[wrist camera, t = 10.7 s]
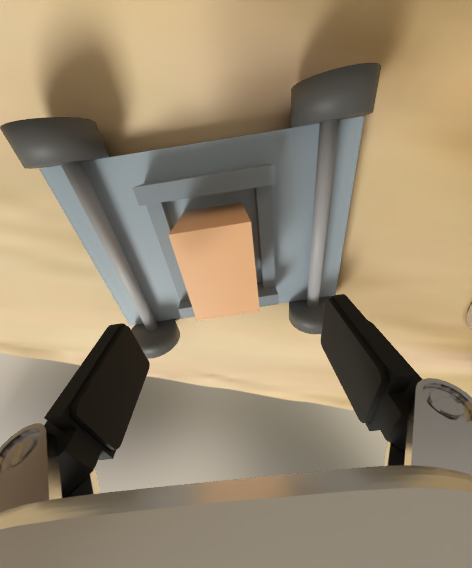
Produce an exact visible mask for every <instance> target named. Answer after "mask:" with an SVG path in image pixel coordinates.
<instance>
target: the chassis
mask: <svg viewBox="0 0 472 568" xmlns="http://www.w3.org/2000/svg"><path fill="white" fill-rule="evenodd" d="M380 70H381V65H380V64H377V63H364V64H357V65H351V66H346V67H342V68H338V69H334V70H330V71H327V72H324V73H321V74H318V75H315V76H312V77H310V78H307V79H305V80H303V81H301V82H299V83H297V84H296V85H295V86H293V87H292V89H291V128H287V129H281V130H275V131H269V132H263V133H256V134H250V135H244V136H238V137H232V138H225V139H219V140H213V141H207V142H201V143H195V144H188V145H182V146H176V147H170V148H164V149H157V150H151V151H145V152H139V153H133V154H127V155H120V156H114V157H109V155H108V153H107V150H106V148H105V145H104V143H103V140H102V138H101V135H100V133H99V130H98V128H97V125H96V123H95V122H94V121H92V120H88V119H82V118H69V117H51V118H35V119H26V120H19V121H14V122H10V123H6V124H4V125H2V126H1V127H0V129H1V130H2V132H3V134H4V135H5V137H6V139H7V140H8V142H9V143H10V145H11V147H12V148H13V150H14V152H15V153H16V155H17V157H18V158H19V160H20V161H21V163H22V165H23V166H24V168H40V171H41V173H42V174H43V176H44V178H45V180H46V181H47V183H48V185H49V187H50V188H51V190H52V192H53V193H54V195H55V197H56V199H57V200H58V202H59V204H60V206H61V207H62V209H63V211H64V213H65V214H66V216H67V218H68V219H69V221H70V223H71V225H72V226H73V228H74V230H75V232H76V233H77V235H78V237H79V239H80V240H81V242H82V244H83V245H84V247H85V249H86V251H87V252H88V254H89V256H90V258H91V259H92V261H93V263H94V265H95V266H96V268H97V270H98V271H99V273H100V275H101V277H102V278H103V280H104V282H105V284H106V285H107V287H108V289H109V291H110V292H111V294H112V296H113V297H114V299H115V301H116V303H117V304H118V306H119V308H120V310H121V311H122V313H123V315H124V317H125V318H126V320H127V322H128V323H129V325H135V326H134V327H133V328H132V330H131V331H132V333H133V335H134V336H135V338H136V340H137V342H138V343H139V345H140V347H141V349H142V350H143V352H144V354H145V356H146V357H147V358H156V357H159V356H161V355H164V354H165V353H167V352H169V351H170V350H171V349H172V348H173V347H174V346H175V345H176V344H177V342H178V340H179V337H180V332H179V329H178V327H177V324H176V322H175V319H177V318H188V317H194V316H195V314H194V311H193V308H192V305H191V302H190V299H189V296H188V293H187V290H186V287H185V284H184V281H183V278H182V275H181V272H180V268H179V265H178V262H177V259H176V256H175V253H174V250H173V247H172V244H171V241H170V238H169V233H170V232H171V230H172V229H173V227H174V226H175V224H176V223H177V221H178V220H179V218H180V217H181V215H182V214H183V212H185V211H192V210H198V209H204V208H210V207H216V206H223V205H229V204H235V203H241V202H242V204H243V206H244V208H245V210H246V212H247V214H248V216H249V219H250V221H251V227H252V237H253V247H254V257H255V268H256V278H257V288H258V298H259V307H262V306H269V305H276V304H279V303H285V302H289V320H290V322H291V324H292V325H293V326H294V327H295V328H297V329H298V330H300V331H302V332H305V333H309V334H322V326H323V319H324V311H325V303H326V300H328V299H329V298H330V296H333V295H335V294H336V288H337V282H338V275H339V269H340V263H341V257H342V251H343V245H344V239H345V233H346V226H347V220H348V214H349V208H350V202H351V196H352V190H353V183H354V177H355V171H356V165H357V159H358V153H359V147H360V141H361V134H362V128H363V122H364V116H363V115H367V114H370V113H372V112H373V109H374V103H375V98H376V92H377V86H378V81H379V75H380ZM359 116H361V117H359ZM44 167H46V168H44Z"/></svg>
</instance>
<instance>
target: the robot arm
mask: <svg viewBox="0 0 472 568" xmlns="http://www.w3.org/2000/svg"><path fill="white" fill-rule="evenodd" d="M467 323H468V325H469V326H470V327H471V328H472V304H471V306H470V308H469V310H468V313H467ZM321 345H322V347H323V350H324V351H325V353H326V355H327V357H328V359H329V361H330V363H331V365H332V367H333V369H334V371H335V373H336V375H337V377H338V379H339V381H340V383H341V385H342V387H343V389H344V391H345V393H346V395H347V397H348V399H349V401H350V403H351V405H352V407H353V409H354V410H355V412H356V414H357V416H358V418H359V420H360V421H361V422H362V423H366V425H367V427H368V429H369V431H376V430H381V432H382V434H383V435H384V437H385V439H386V440H387V447H386V455H385V462H384V466H379V467H366V468H352V469H340V470H339V469H338V470H327V471H317V472H306V473H296V474H285V475H275V476H265V477H254V478H245V479H234V480H224V481H214V482H204V483H195V484H185V485H175V486H165V487H156V488H146V489H137V490H127V491H119V492H109V493H101V492H100V488H99V484H98V479H97V474H96V469H95V466H96V463H97V461H98V459H99V460H104V459H113V457H114V454H115V451H116V449H118V448H119V447H120V445H121V443H122V441H123V438H124V435H125V432H126V430H127V427H128V424H129V421H130V419H131V416H132V413H133V411H134V408H135V405H136V402H137V400H138V397H139V394H140V392H141V389H142V386H143V383H144V381H145V378H146V375H147V373H148V370H149V361H148V359H147V357H146V356H145V354H144V352H143V350H142V349H141V347H140V345H139V343H138V342H137V340H136V338H135V336H134V335H133V333H132V331H131V329H130V328H129V327H128V326H126V325H125V324H115V325H110V326H109V327H108V328H107V329H106V330H105V332H104V333H103V335H102V336H101V338H100V339H99V340H98V342H97V343H96V345H95V346H94V348H93V349H92V350H91V352H90V353H89V355H88V356H87V357H86V359H85V360H84V362H83V363H82V365H81V366H80V368H79V369H78V370H77V372H76V373H75V375H74V376H73V377H72V379H71V380H70V382H69V383H68V385H67V386H66V388H65V389H64V390H63V392H62V393H61V395H60V396H59V397H58V399H57V400H56V402H55V403H54V405H53V406H52V407H51V409H50V410H49V412H48V413H47V414H46V416H45V417H44V418H45V419H47V420H48V421H47V422H46V424H45V425H42V424H33V425H30V426H27V427H25V428H23V429H21V430H20V431H18V432H17V433H16V434H14V435H13V436H11V437H10V438H9V439H8V440H7V441H6V442H5V443H4V444H3V445H2V446H1V447H0V568H472V397H470V396H469V395H468V394H467V393H466V392H464V391H463V390H461V389H460V388H458V387H457V386H455V385H452V384H450V383H448V382H446V381H442V380H439V379H431V378H428V379H423V380H422V378H421V377H420V376H419V375H418V374H417V373H416V372H415V371H414V369H413V368H412V367H411V366H410V365H409V364H408V363H407V362H406V360H405V359H404V358H403V357H402V356H401V355H400V354H399V352H398V351H397V350H396V349H395V348H394V347H393V346H392V345H391V343H390V342H389V341H388V340H387V339H386V338H385V337H384V336H383V334H382V333H381V332H380V331H379V330H378V329H377V328H376V327H375V325H374V324H373V323H371V322H370V321H368V320H367V319H366V318H365V317H364V316H363V315H362V313H361V312H360V311H359V310H358V309H357V308H356V307H355V305H354V304H353V303H352V302H351V301H350V300H349V299H348V297H347V296H346V295H344V294H342V295H334V296H330V298H329V299H328V300H326V303H325V311H324V319H323V326H322V334H321Z"/></svg>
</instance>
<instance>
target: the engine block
mask: <svg viewBox="0 0 472 568" xmlns="http://www.w3.org/2000/svg"><path fill="white" fill-rule="evenodd" d="M169 238H170V241H171V244H172V247H173V250H174V253H175V256H176V259H177V262H178V265H179V268H180V272H181V275H182V278H183V281H184V284H185V287H186V290H187V293H188V296H189V299H190V302H191V305H192V308H193V311H194V314H195V317H196V320H197V321H198V320H205V319H211V318H218V317H225V316H231V315H238V314H245V313H251V312H258V311H260V308H259V298H258V288H257V278H256V268H255V257H254V247H253V237H252V227H251V221H250V219H249V216H248V214H247V212H246V210H245V208H244V206H243V204H242V202H241V203H235V204H229V205H223V206H216V207H210V208H204V209H198V210H192V211H185V212H183V214H182V215H181V217H180V218H179V220H178V221H177V223H176V224H175V226H174V227H173V229H172V230H171V232H170V233H169Z"/></svg>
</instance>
